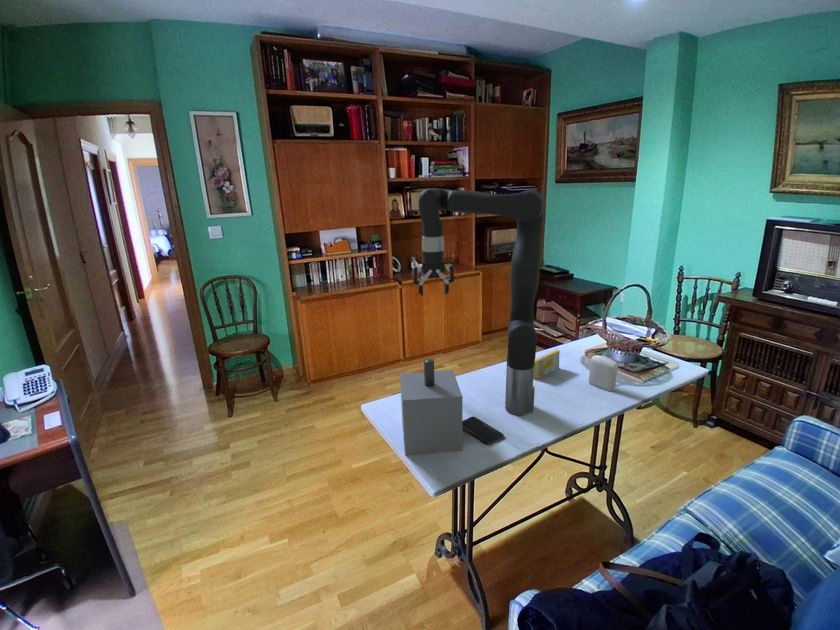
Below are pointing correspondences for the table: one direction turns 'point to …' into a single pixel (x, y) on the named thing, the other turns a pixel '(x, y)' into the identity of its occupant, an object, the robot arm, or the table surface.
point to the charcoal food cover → (431, 411)
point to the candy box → (546, 364)
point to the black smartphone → (481, 431)
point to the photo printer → (603, 372)
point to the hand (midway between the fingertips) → (433, 294)
